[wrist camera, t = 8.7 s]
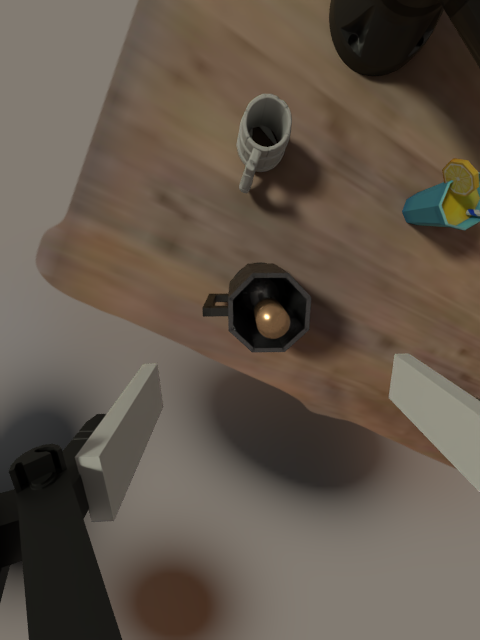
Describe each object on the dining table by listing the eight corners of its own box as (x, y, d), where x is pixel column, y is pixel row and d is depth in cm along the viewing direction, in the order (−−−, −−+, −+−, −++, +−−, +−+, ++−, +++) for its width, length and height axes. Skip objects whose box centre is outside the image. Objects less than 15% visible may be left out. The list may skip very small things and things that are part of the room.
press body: (290, 262, 49) (313, 271, 35) (287, 321, 52) (308, 352, 38) (209, 262, 49) (199, 272, 35) (212, 322, 52) (203, 353, 38)
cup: (464, 218, 48) (564, 208, 33) (431, 254, 49) (513, 261, 35) (409, 165, 45) (490, 131, 31) (376, 206, 47) (439, 191, 32)
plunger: (278, 276, 48) (301, 296, 32) (277, 311, 50) (298, 347, 33) (242, 277, 48) (246, 297, 32) (242, 311, 50) (246, 348, 33)
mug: (291, 132, 43) (312, 94, 32) (262, 206, 46) (271, 195, 35) (247, 111, 42) (252, 63, 31) (220, 187, 46) (216, 170, 34)
